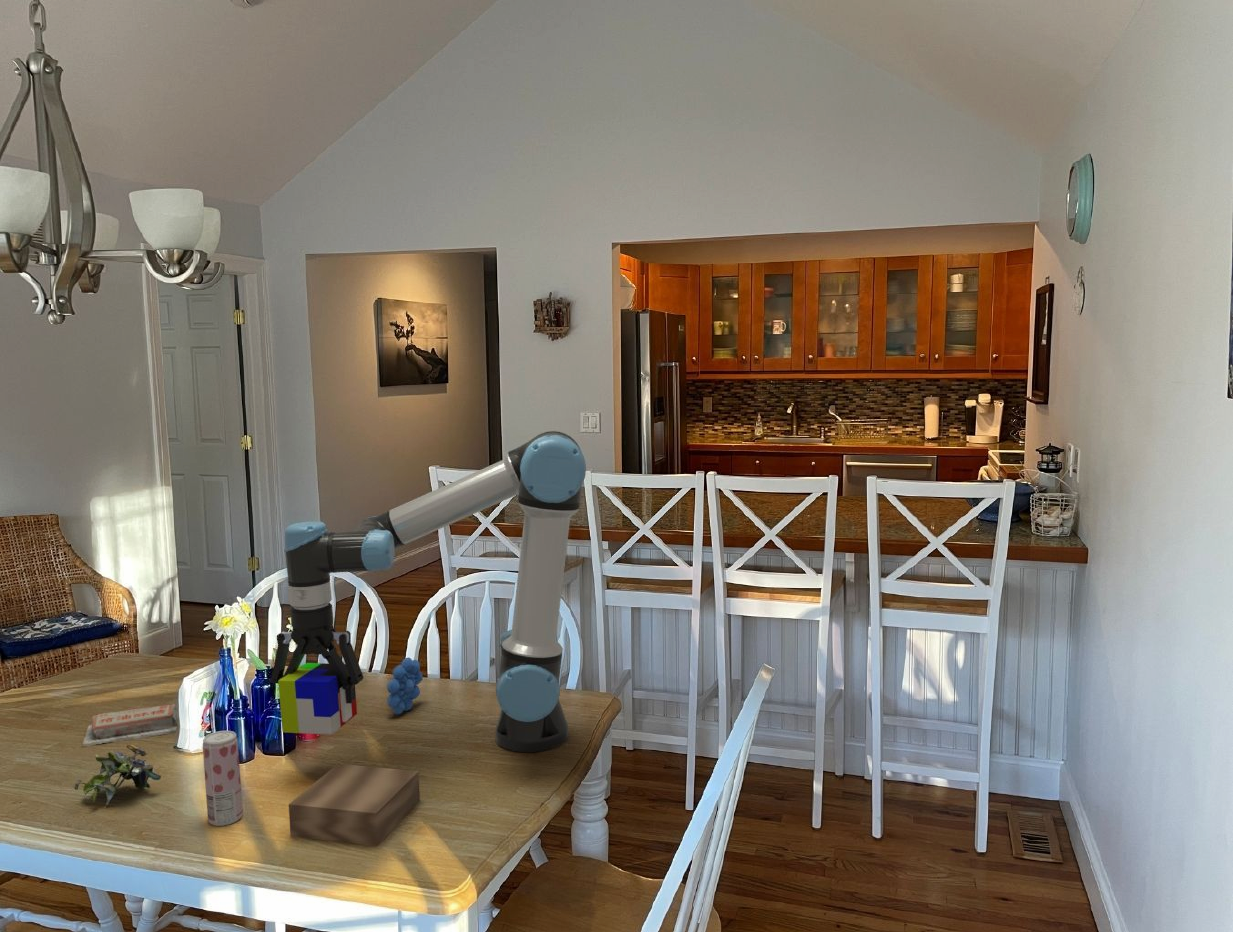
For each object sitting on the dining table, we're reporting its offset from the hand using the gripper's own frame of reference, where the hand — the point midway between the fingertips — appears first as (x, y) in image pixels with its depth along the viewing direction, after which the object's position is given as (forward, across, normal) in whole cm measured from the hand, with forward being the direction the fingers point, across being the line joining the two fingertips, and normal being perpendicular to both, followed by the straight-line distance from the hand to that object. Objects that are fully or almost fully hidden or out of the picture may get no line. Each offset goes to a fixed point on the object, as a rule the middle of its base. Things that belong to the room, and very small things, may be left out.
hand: (320, 718), depth 181 cm
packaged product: (+11, -52, +16) cm, 56 cm away
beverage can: (+11, -10, -18) cm, 23 cm away
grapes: (+12, +2, +34) cm, 36 cm away
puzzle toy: (+1, 0, 0) cm, 1 cm away
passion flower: (+11, -34, -13) cm, 38 cm away
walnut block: (+12, +13, -15) cm, 24 cm away
